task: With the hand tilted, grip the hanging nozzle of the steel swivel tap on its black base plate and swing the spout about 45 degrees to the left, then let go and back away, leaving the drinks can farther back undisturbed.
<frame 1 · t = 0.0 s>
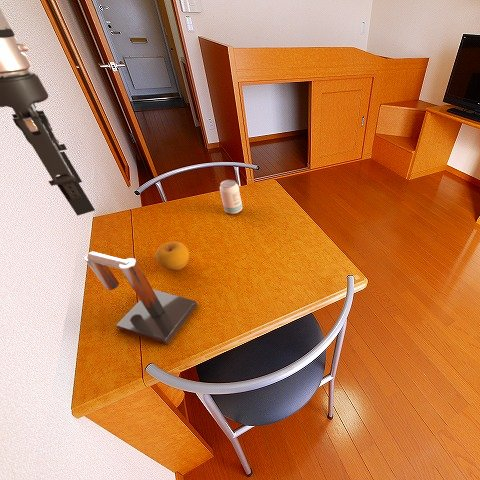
hand: (79, 196, 54), 33 cm above the table, tool pointing down, fingers open, 13 cm apart
apple: (178, 267, 85), on the table
tap base: (160, 317, 71), on the table
spout: (126, 284, 65), point 11 cm above the table, hinge at 0.0°
beverage can: (234, 210, 109), on the table
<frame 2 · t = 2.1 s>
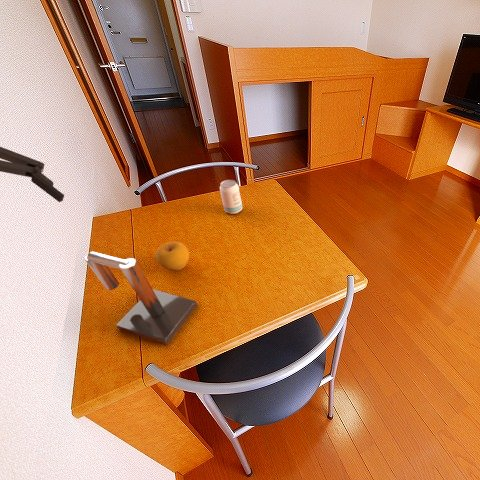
hand: (30, 215, 57), 28 cm above the table, tool tilted 45°, fingers open, 13 cm apart
nothing on the table moved.
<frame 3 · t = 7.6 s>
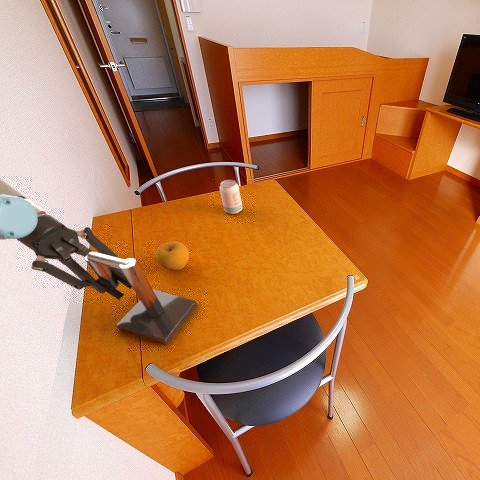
hand: (127, 291, 67), 8 cm above the table, tool tilted 45°, fingers closed on spout, 3 cm apart
spout: (126, 284, 65), point 11 cm above the table, hinge at 0.0°, touching gripper
everything else where it was.
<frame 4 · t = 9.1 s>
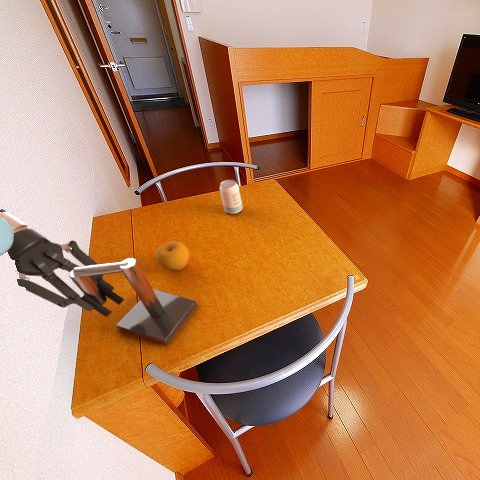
hand: (115, 308, 64), 8 cm above the table, tool tilted 45°, fingers closed on spout, 3 cm apart
spout: (120, 292, 63), point 11 cm above the table, hinge at 27.8°, touching gripper
everything else where it was.
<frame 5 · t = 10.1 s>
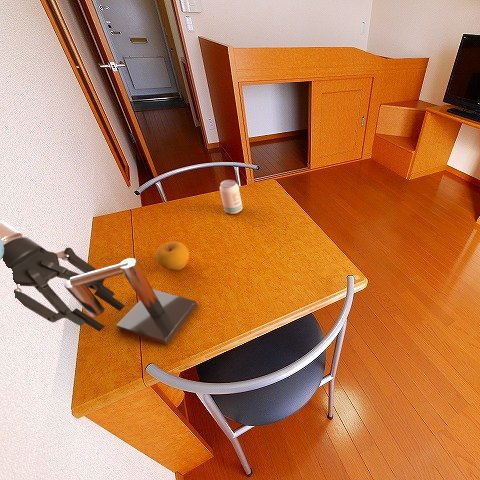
hand: (112, 318, 62), 8 cm above the table, tool tilted 45°, fingers open, 5 cm apart
spout: (119, 297, 62), point 11 cm above the table, hinge at 44.5°
everything else where it was.
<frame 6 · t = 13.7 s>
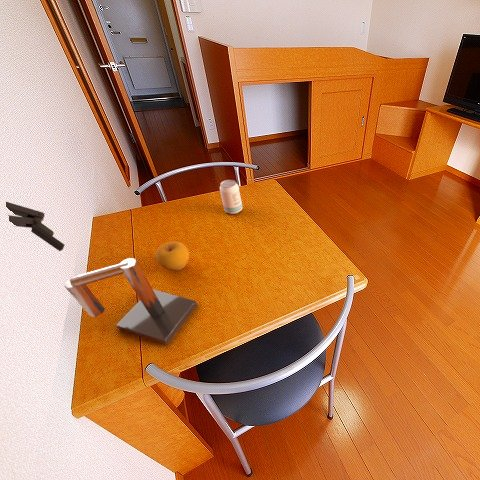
hand: (30, 269, 57), 20 cm above the table, tool tilted 45°, fingers open, 13 cm apart
nothing on the table moved.
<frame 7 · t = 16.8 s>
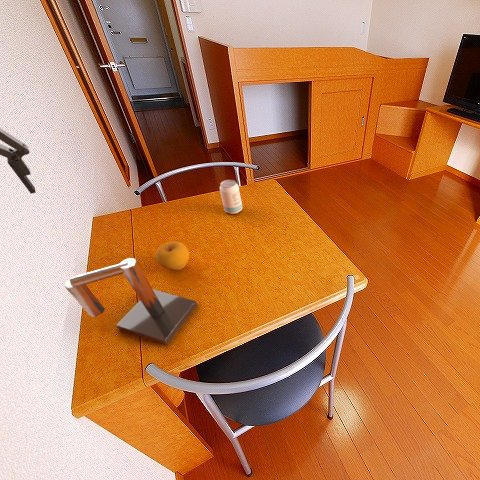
nothing on the table moved.
at the end: spout at +44° (first picture: +0°); the gripper is holding nothing; beverage can moved 0.2 cm from its start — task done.
